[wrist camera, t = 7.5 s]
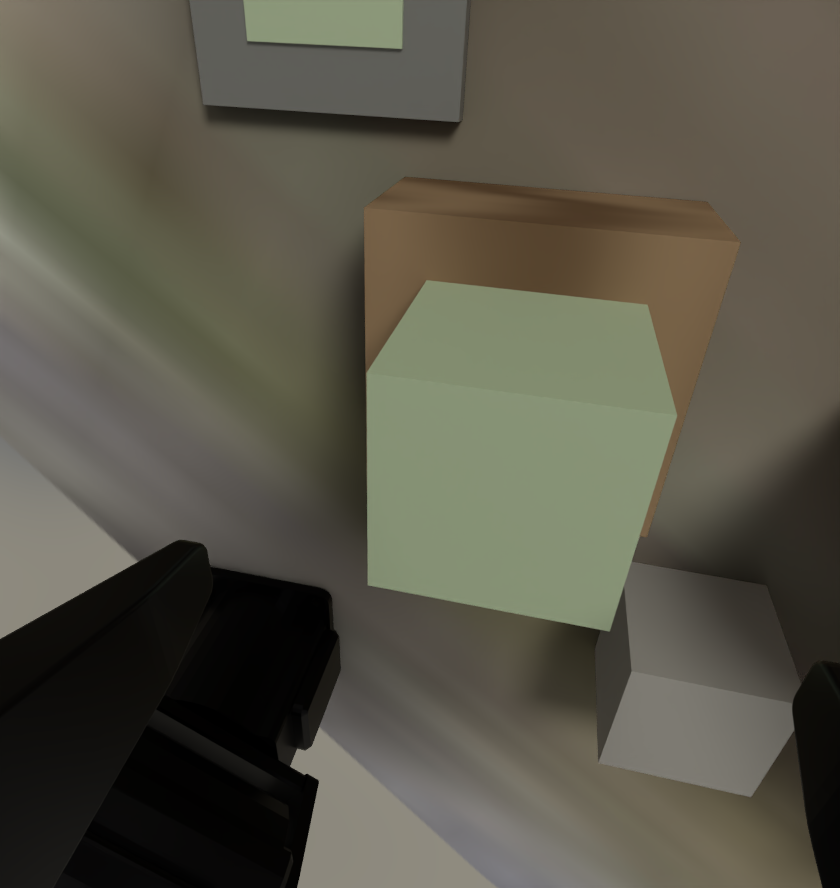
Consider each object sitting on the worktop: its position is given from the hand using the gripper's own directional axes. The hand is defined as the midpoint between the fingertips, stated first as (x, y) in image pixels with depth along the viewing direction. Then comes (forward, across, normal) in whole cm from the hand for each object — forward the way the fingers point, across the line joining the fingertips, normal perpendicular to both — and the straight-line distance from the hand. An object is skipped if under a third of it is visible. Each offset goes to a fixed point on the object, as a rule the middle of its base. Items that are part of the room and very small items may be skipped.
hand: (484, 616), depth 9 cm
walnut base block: (+12, 0, 0) cm, 12 cm away
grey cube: (+12, -7, +11) cm, 18 cm away
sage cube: (+8, 0, 0) cm, 8 cm away
